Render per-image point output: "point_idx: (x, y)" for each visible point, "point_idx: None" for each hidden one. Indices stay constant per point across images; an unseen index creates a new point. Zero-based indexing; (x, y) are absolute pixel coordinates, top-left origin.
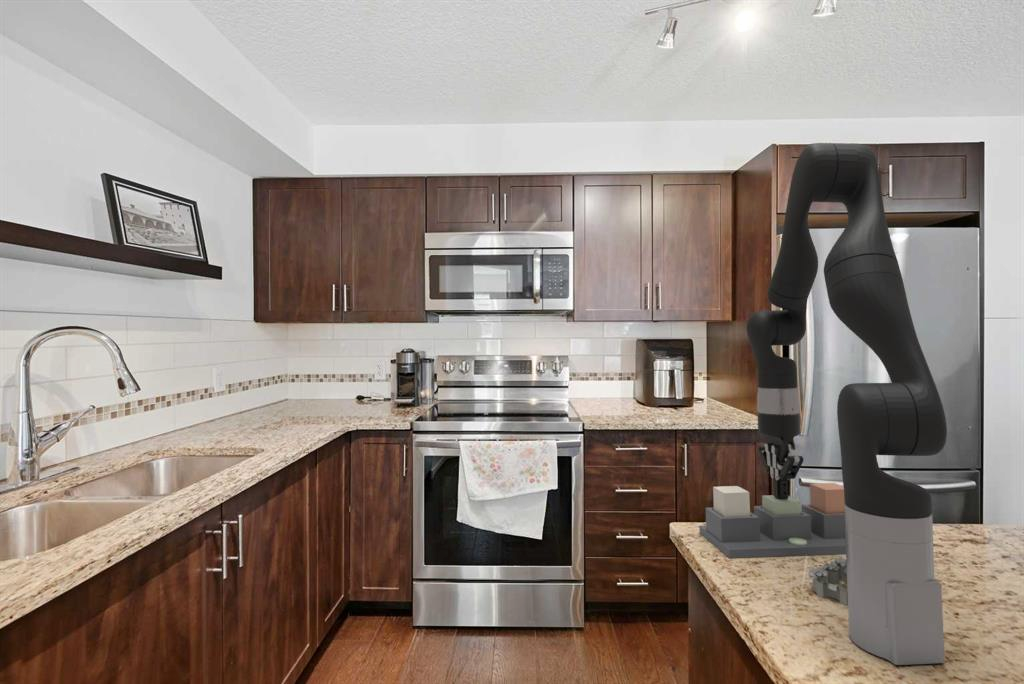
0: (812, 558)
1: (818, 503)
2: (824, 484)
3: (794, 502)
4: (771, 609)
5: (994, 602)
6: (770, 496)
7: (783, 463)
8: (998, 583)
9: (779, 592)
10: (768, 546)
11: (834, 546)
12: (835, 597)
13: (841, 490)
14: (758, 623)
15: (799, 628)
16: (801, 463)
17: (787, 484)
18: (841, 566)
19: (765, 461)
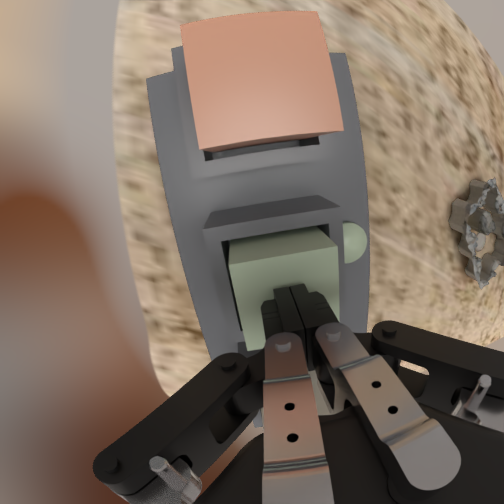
0: (375, 221)
1: (268, 141)
2: (215, 77)
3: (338, 268)
4: (477, 328)
5: (487, 66)
6: (261, 330)
7: (342, 406)
8: (436, 3)
9: (459, 314)
10: (357, 308)
11: (364, 161)
12: (484, 255)
13: (324, 50)
14: (485, 341)
15: (500, 311)
16: (501, 355)
17: (337, 321)
18: (464, 220)
19: (224, 447)
